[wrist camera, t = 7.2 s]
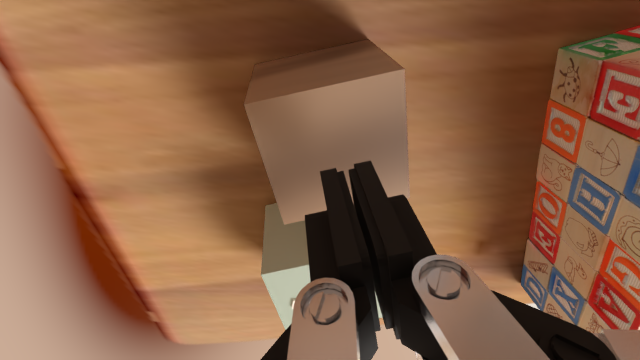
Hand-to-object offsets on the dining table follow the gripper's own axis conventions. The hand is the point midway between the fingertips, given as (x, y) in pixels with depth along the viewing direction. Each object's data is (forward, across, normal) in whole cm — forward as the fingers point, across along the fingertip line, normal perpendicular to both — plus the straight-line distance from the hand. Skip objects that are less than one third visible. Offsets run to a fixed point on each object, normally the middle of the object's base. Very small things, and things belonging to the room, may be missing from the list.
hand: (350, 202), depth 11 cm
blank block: (+9, 0, 0) cm, 9 cm away
